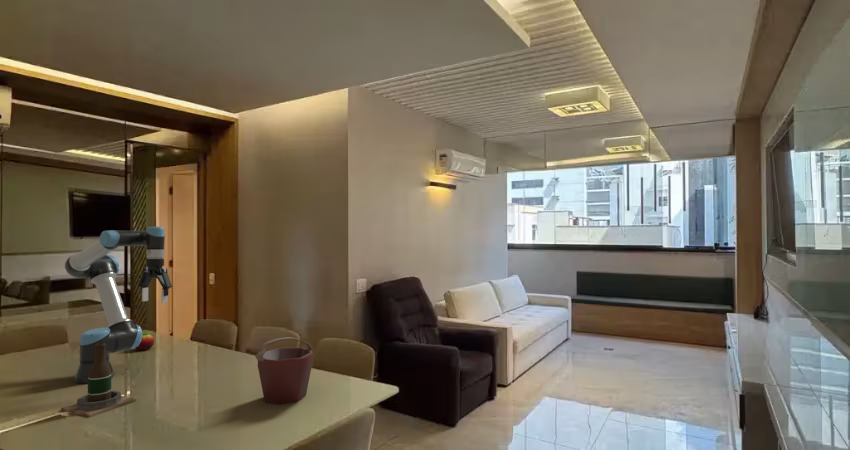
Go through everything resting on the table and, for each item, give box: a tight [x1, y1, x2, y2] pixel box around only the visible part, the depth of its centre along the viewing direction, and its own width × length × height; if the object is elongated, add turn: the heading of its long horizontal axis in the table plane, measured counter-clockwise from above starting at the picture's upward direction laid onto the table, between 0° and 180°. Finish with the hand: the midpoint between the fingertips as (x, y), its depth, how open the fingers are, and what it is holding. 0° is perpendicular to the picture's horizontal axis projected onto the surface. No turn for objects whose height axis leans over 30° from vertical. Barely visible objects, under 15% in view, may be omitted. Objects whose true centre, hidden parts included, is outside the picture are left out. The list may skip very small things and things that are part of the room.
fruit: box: [134, 331, 155, 352], centre depth 277 cm, size 11×11×10 cm
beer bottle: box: [87, 343, 112, 402], centre depth 185 cm, size 8×8×24 cm
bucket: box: [254, 336, 314, 406], centre depth 194 cm, size 24×22×25 cm
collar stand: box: [60, 390, 137, 418], centre depth 185 cm, size 18×18×4 cm
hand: (154, 301), depth 223 cm, fingers open, 13 cm apart
